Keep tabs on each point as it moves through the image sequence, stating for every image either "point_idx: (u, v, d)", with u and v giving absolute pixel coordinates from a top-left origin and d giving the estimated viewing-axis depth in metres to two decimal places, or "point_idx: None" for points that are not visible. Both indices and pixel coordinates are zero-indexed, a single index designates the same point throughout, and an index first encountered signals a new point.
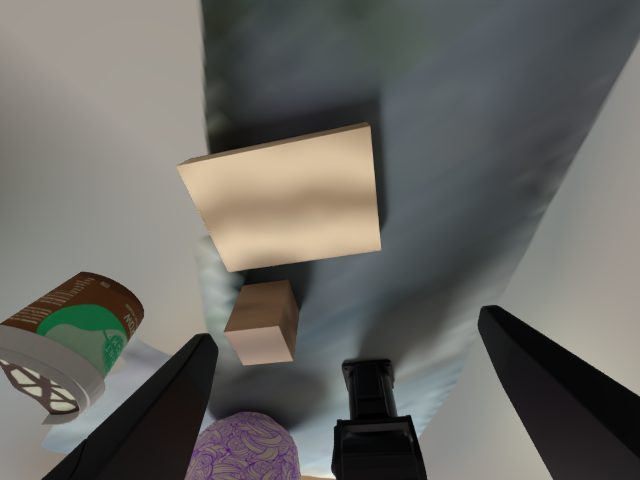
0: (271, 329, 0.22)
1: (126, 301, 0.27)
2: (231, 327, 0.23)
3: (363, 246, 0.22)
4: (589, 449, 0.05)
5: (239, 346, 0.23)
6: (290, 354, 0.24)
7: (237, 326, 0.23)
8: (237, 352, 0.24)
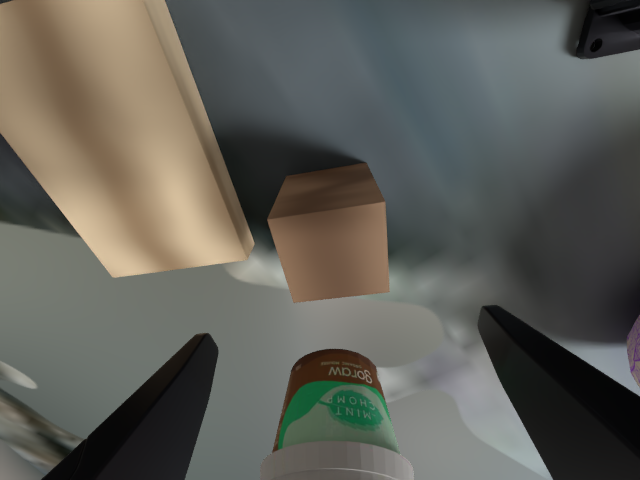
0: (278, 232, 0.11)
1: (319, 361, 0.24)
2: None
3: (134, 19, 0.11)
4: (589, 449, 0.05)
5: (331, 288, 0.13)
6: (362, 205, 0.11)
7: None
8: (348, 294, 0.13)
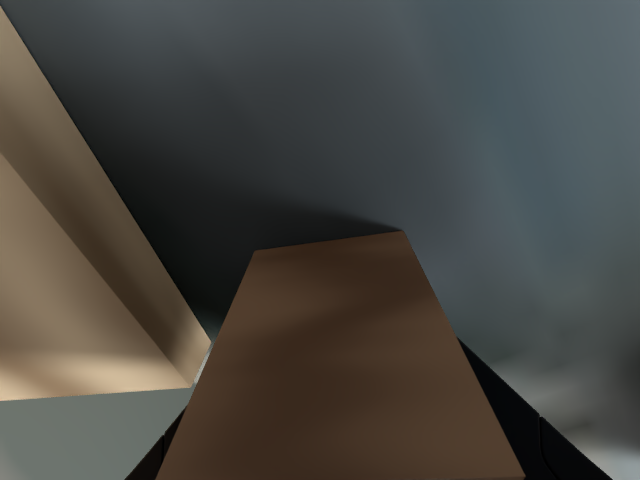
0: None
1: None
2: None
3: None
4: None
5: None
6: (445, 472, 0.03)
7: None
8: None
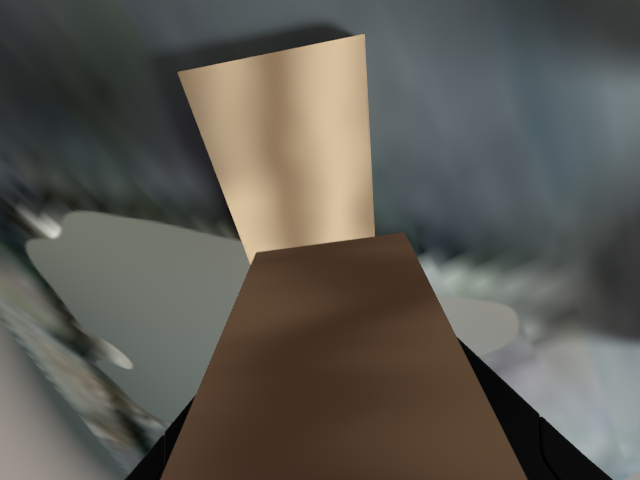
0: None
1: None
2: None
3: (353, 71, 0.13)
4: None
5: None
6: (448, 475, 0.03)
7: None
8: None
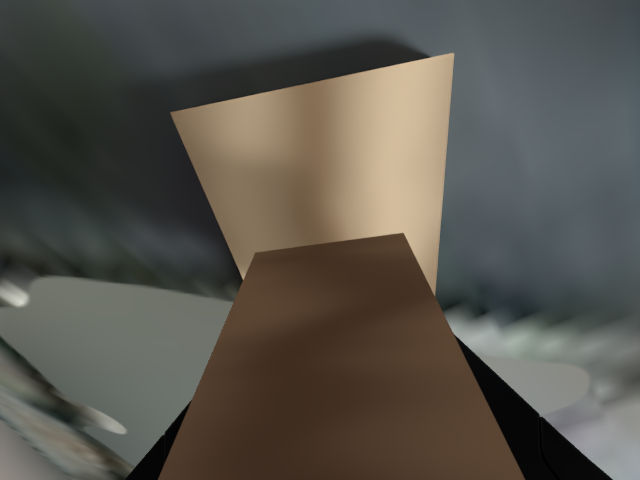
0: None
1: None
2: None
3: (431, 106, 0.09)
4: None
5: None
6: (446, 476, 0.03)
7: None
8: None
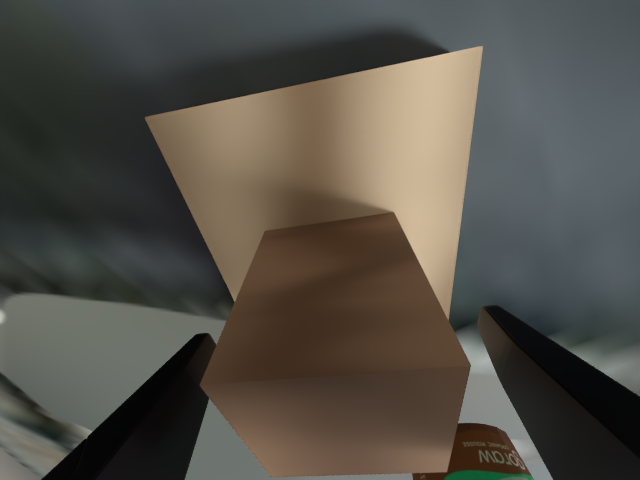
0: (227, 403, 0.05)
1: (459, 440, 0.21)
2: None
3: (452, 109, 0.08)
4: (589, 449, 0.05)
5: (338, 466, 0.07)
6: (415, 366, 0.05)
7: None
8: (370, 472, 0.07)
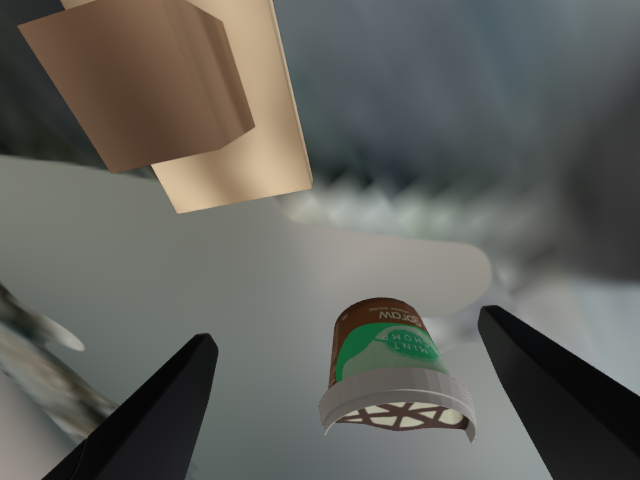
0: (41, 49, 0.09)
1: (367, 308, 0.24)
2: None
3: None
4: (589, 449, 0.05)
5: (146, 147, 0.10)
6: None
7: None
8: (171, 155, 0.10)
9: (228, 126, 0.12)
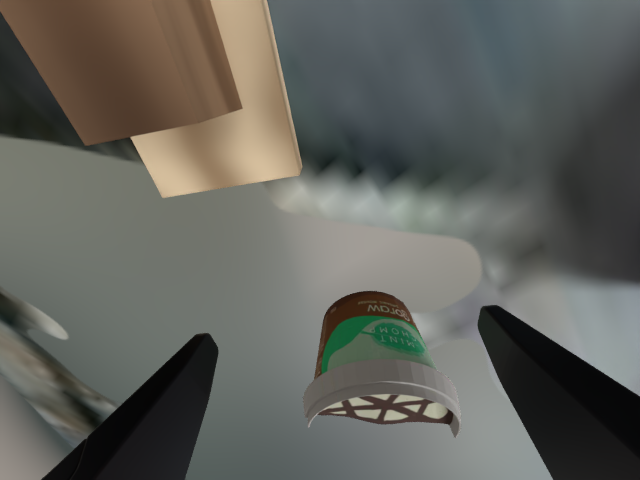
0: (7, 7, 0.08)
1: (355, 301, 0.24)
2: None
3: None
4: (589, 449, 0.05)
5: (122, 118, 0.10)
6: None
7: None
8: (147, 128, 0.10)
9: (210, 102, 0.11)
